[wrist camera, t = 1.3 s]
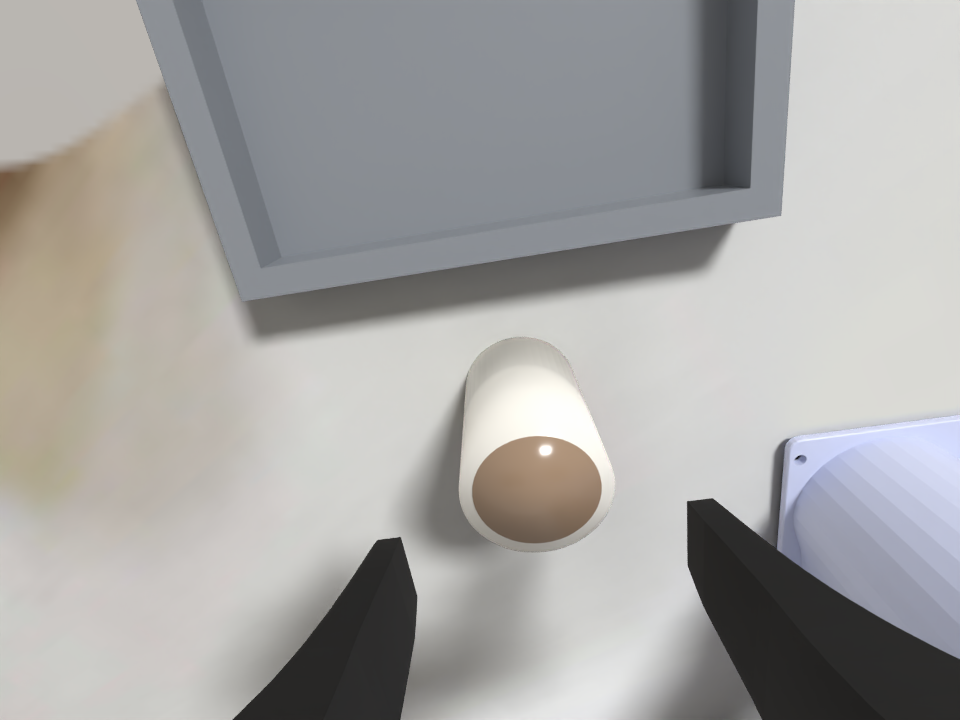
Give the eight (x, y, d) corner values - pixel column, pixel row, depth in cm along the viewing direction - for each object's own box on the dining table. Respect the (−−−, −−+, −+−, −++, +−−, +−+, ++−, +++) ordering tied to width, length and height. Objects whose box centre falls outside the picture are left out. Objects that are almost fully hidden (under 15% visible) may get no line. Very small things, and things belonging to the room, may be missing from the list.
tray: (744, 207, 19) (780, 215, 16) (270, 283, 20) (242, 301, 17) (760, -240, 14) (814, -316, 12) (143, -106, 15) (82, -151, 13)
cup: (579, 427, 22) (619, 544, 16) (475, 442, 22) (472, 562, 16) (569, 329, 20) (610, 413, 14) (456, 346, 21) (445, 436, 14)
